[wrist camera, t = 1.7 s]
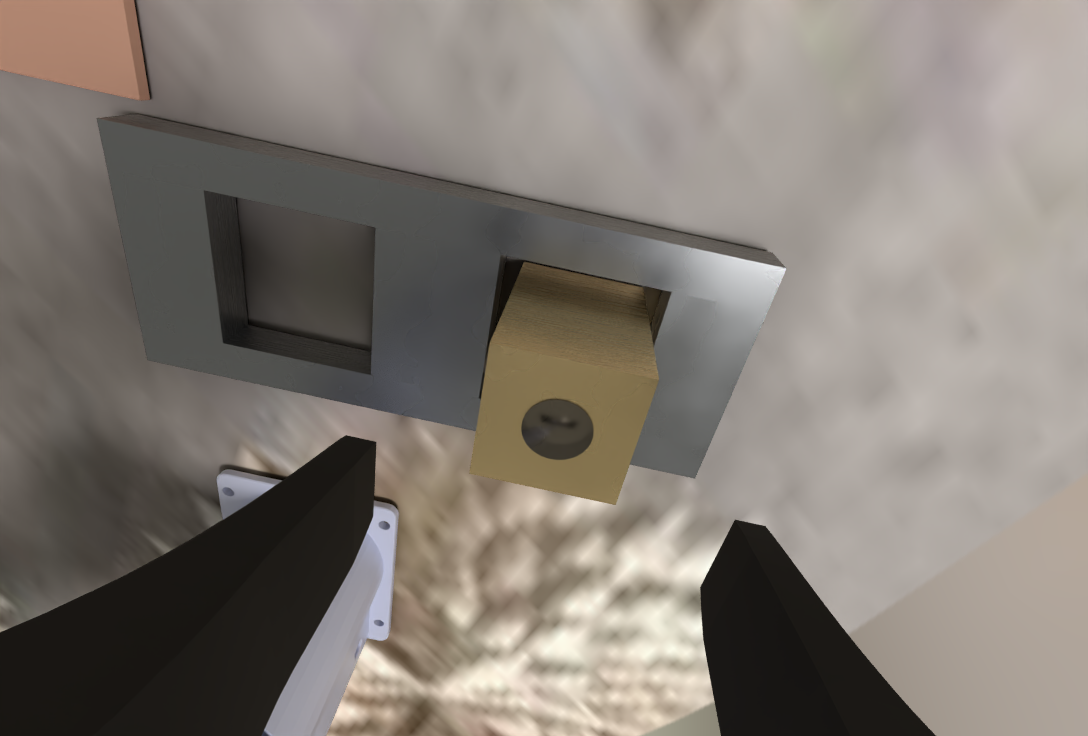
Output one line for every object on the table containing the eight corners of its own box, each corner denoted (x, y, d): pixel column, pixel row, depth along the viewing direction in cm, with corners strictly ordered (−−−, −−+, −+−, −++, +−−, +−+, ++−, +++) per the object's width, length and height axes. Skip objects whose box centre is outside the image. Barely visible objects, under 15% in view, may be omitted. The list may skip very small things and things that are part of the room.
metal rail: (689, 452, 21) (694, 478, 19) (176, 341, 20) (147, 359, 19) (772, 252, 17) (786, 268, 15) (136, 114, 16) (96, 118, 15)
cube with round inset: (613, 388, 20) (615, 506, 14) (505, 365, 20) (468, 474, 14) (643, 287, 18) (659, 381, 12) (524, 261, 18) (489, 344, 12)
